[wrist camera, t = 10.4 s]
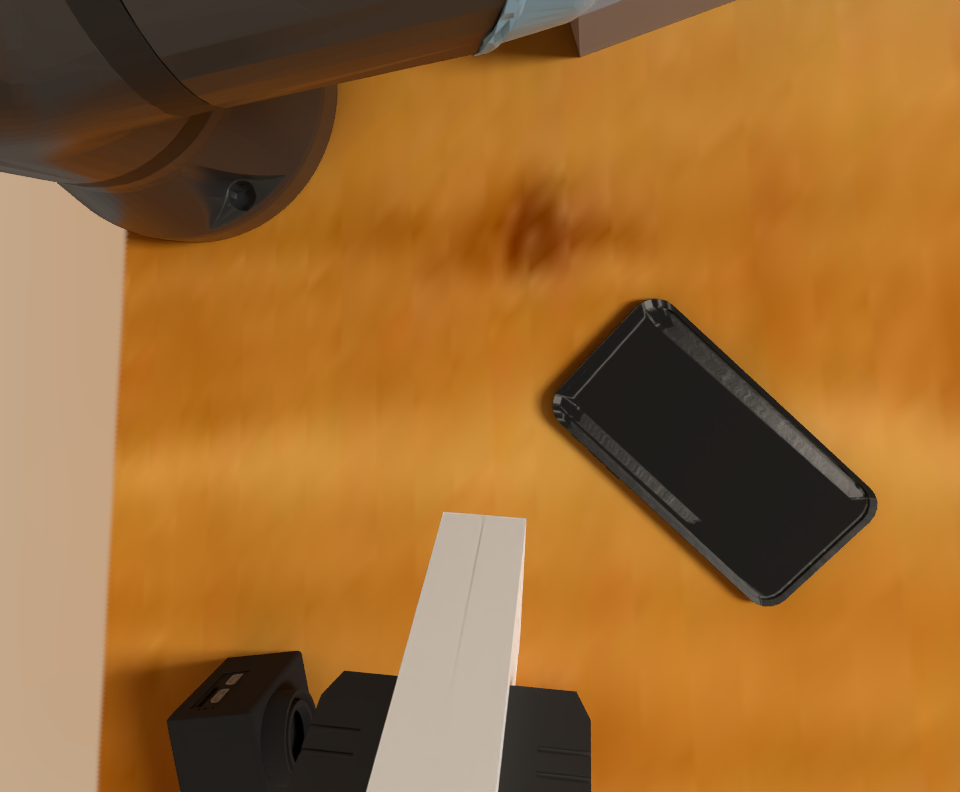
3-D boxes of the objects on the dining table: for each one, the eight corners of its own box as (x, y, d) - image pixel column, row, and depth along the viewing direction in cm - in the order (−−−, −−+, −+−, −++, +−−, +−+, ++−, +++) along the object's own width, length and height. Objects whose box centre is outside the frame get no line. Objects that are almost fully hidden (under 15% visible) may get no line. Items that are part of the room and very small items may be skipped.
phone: (654, 288, 40) (888, 504, 40) (652, 288, 41) (880, 499, 41) (541, 408, 41) (766, 617, 41) (542, 405, 42) (761, 609, 42)
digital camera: (355, 827, 46) (314, 920, 39) (262, 832, 47) (206, 926, 40) (322, 647, 45) (274, 711, 38) (228, 656, 46) (164, 721, 39)
